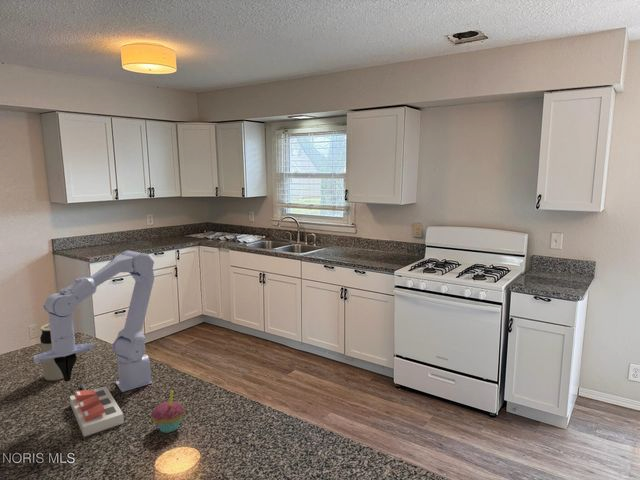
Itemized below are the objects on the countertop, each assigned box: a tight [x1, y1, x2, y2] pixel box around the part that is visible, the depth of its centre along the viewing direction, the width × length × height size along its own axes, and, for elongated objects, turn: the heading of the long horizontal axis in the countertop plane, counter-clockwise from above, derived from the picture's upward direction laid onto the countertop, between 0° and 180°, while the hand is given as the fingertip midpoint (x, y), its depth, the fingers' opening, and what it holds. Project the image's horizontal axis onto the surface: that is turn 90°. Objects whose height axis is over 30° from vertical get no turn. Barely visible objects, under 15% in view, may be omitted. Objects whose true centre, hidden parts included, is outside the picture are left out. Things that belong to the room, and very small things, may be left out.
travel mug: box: [39, 323, 64, 381], centre depth 146 cm, size 8×8×18 cm
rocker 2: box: [82, 403, 105, 421], centre depth 118 cm, size 5×4×1 cm
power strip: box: [69, 383, 125, 437], centre depth 128 cm, size 10×30×3 cm, turn 39°
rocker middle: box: [78, 395, 100, 412], centre depth 123 cm, size 5×4×1 cm
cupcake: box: [150, 388, 185, 434], centre depth 117 cm, size 9×8×12 cm
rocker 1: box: [73, 388, 96, 400], centre depth 128 cm, size 5×4×1 cm
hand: (67, 379), depth 124 cm, fingers closed
